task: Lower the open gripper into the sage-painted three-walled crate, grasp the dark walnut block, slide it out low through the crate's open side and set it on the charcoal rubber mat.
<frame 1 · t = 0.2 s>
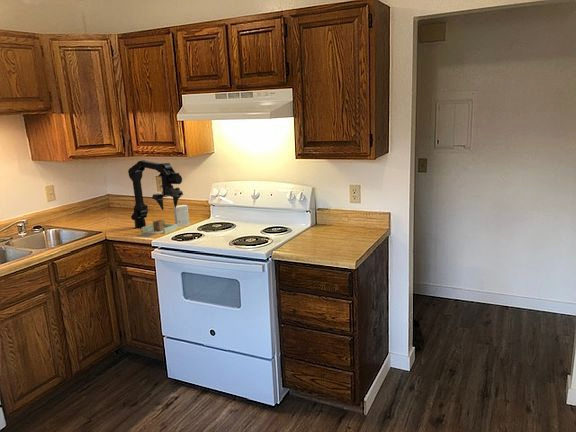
hand: (169, 208, 293), 14 cm above the worktop, fingers open, 9 cm apart
walnut block: (159, 230, 295), resting on crate
small box: (182, 225, 308), on the worktop
crate: (160, 230, 296), on the worktop
mat: (146, 235, 285), on the worktop
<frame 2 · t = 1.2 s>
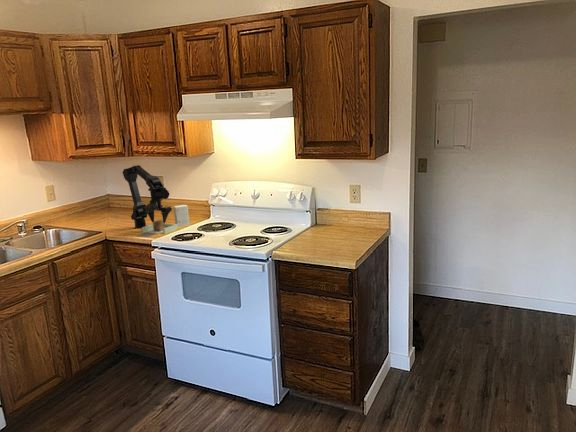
hand: (158, 222, 294), 5 cm above the worktop, fingers open, 9 cm apart
nothing on the worktop moved.
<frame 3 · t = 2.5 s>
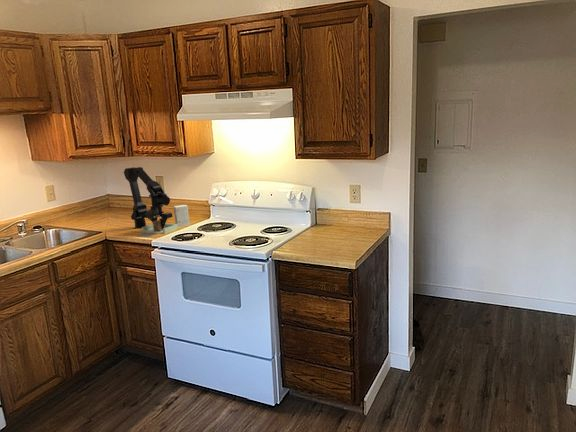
hand: (159, 228, 295), 2 cm above the worktop, fingers closed on walnut block, 5 cm apart
walnut block: (159, 230, 295), resting on crate, touching gripper
everything else where it was.
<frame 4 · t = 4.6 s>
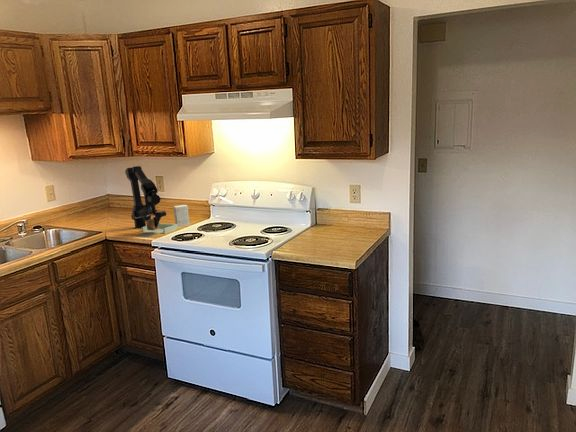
hand: (153, 227, 290), 4 cm above the worktop, fingers closed on walnut block, 5 cm apart
walnut block: (153, 229, 290), point 2 cm above the worktop, touching gripper
everything else where it was.
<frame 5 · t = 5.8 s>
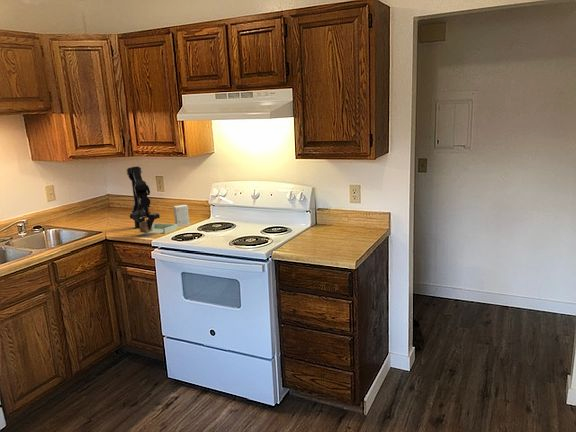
hand: (146, 229, 284), 3 cm above the worktop, fingers closed on walnut block, 5 cm apart
walnut block: (146, 231, 285), point 2 cm above the worktop, touching gripper
everything else where it was.
when the fingers open (3 cm above the worktop, at t = 6.8 s): walnut block drops 1 cm, resting on mat.
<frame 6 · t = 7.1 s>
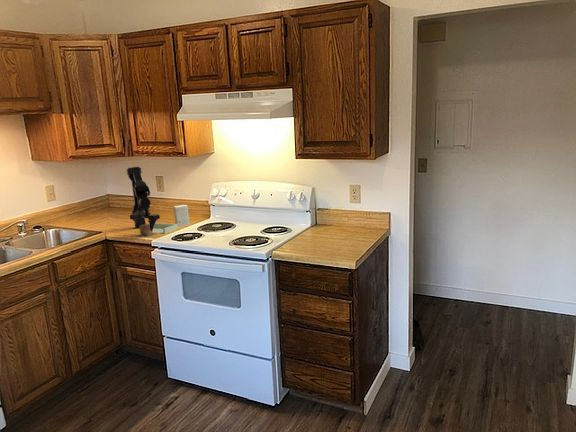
hand: (146, 230, 285), 3 cm above the worktop, fingers open, 8 cm apart
walnut block: (146, 234, 285), resting on mat
everything else where it was.
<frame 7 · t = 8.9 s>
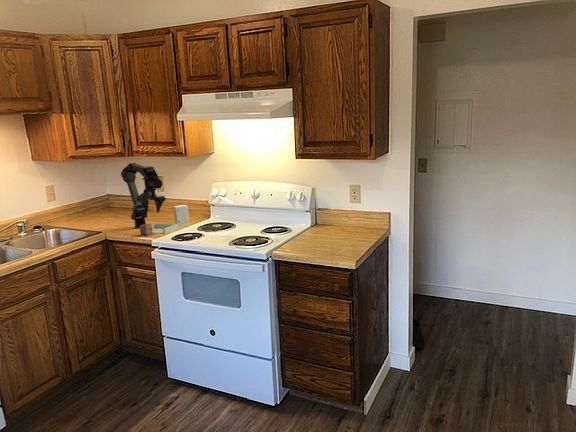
hand: (152, 212, 294), 12 cm above the worktop, fingers open, 9 cm apart
nothing on the worktop moved.
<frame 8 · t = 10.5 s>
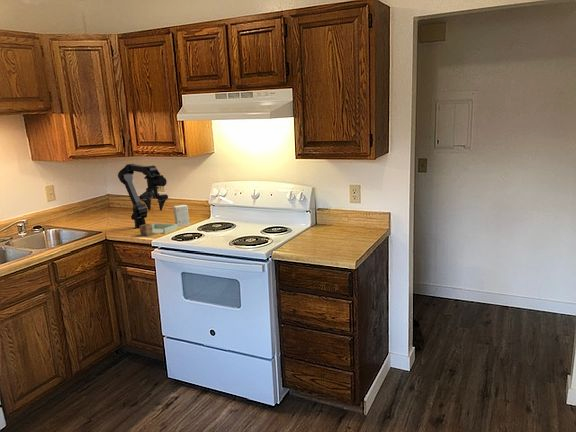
hand: (155, 210, 297), 13 cm above the worktop, fingers open, 9 cm apart
nothing on the worktop moved.
at the end: walnut block inside the target area on the mat (0.1 cm from its centre), point 0.4 cm above the mat's base; walnut block tilted 0°; the gripper is holding nothing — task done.
